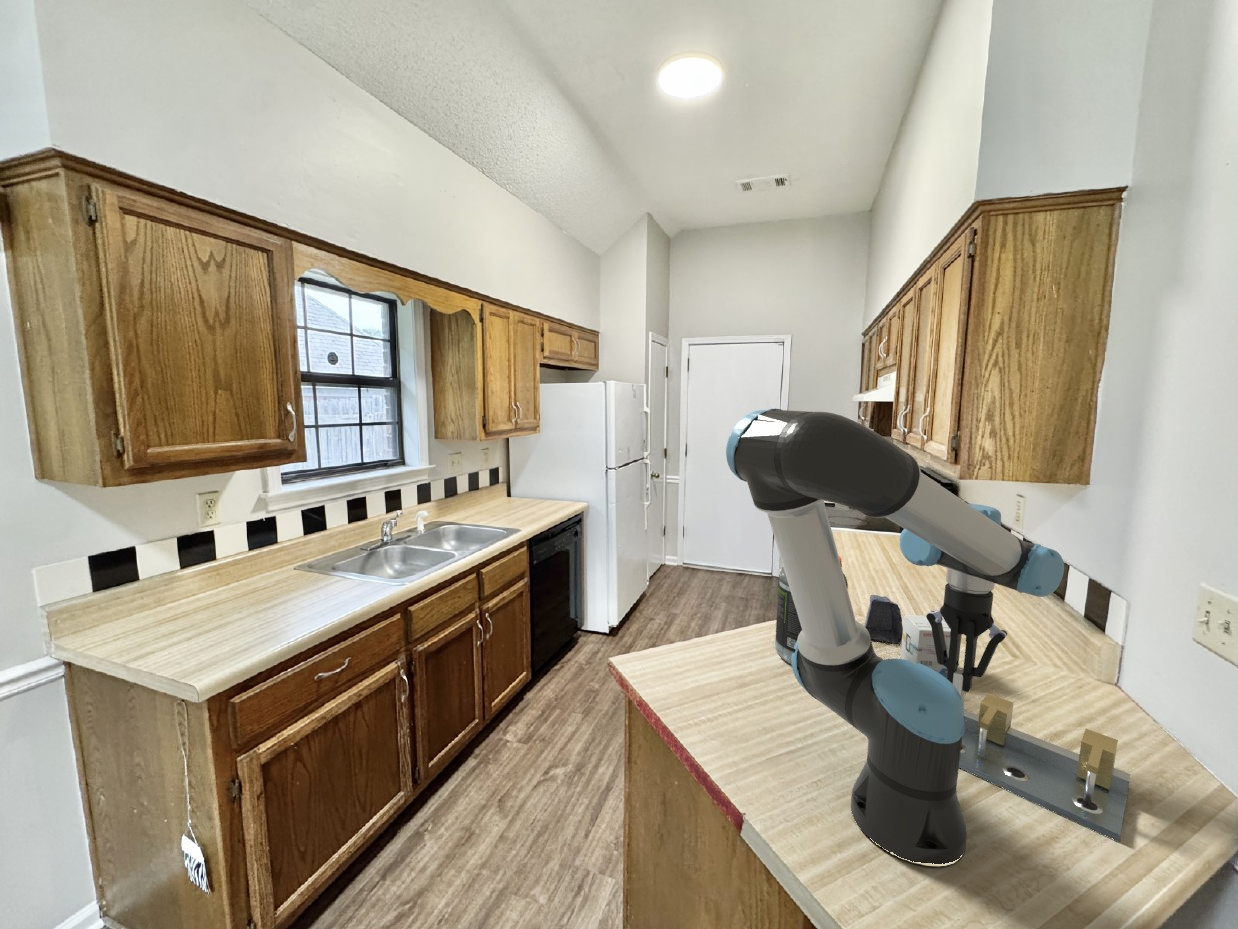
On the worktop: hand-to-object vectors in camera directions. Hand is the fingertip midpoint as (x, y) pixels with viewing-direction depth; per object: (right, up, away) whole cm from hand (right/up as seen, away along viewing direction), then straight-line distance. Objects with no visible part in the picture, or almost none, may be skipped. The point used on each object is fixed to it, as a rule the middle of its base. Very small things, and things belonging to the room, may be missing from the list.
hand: (957, 703), depth 101 cm
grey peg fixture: (+4, -6, -10) cm, 13 cm away
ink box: (+7, -2, +22) cm, 23 cm away
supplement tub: (-19, -1, +27) cm, 33 cm away
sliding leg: (+2, -4, -6) cm, 8 cm away
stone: (+5, 0, +39) cm, 39 cm away
